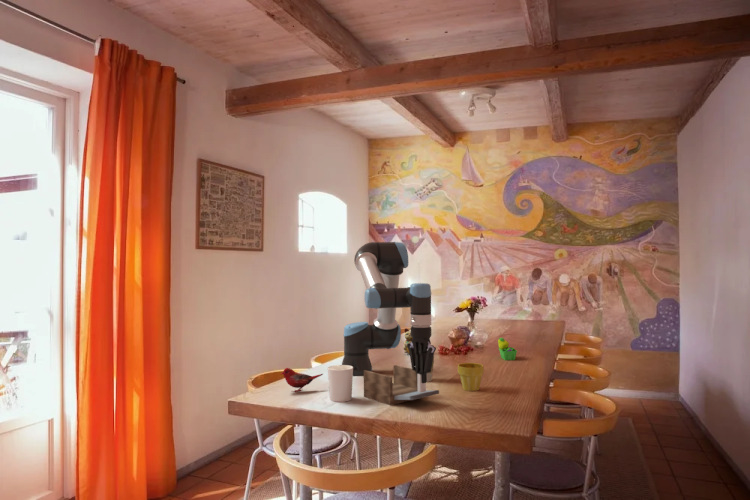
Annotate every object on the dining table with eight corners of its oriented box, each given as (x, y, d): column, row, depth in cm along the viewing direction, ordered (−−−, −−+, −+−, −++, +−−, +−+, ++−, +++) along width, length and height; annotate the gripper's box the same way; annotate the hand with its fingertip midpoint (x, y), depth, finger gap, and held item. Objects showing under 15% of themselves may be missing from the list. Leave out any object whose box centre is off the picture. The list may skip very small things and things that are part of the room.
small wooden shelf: (363, 396, 200) (363, 370, 200) (396, 389, 210) (395, 365, 210) (390, 405, 187) (389, 377, 187) (423, 397, 197) (422, 371, 197)
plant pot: (468, 393, 202) (468, 368, 203) (452, 388, 212) (452, 364, 212) (489, 390, 207) (488, 365, 207) (473, 385, 216) (472, 361, 217)
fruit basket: (517, 360, 269) (517, 339, 269) (500, 360, 269) (500, 339, 269) (512, 356, 280) (511, 335, 281) (496, 356, 281) (495, 336, 281)
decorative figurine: (402, 355, 287) (402, 328, 288) (404, 352, 295) (404, 326, 296) (420, 355, 286) (419, 328, 286) (421, 353, 294) (420, 326, 294)
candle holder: (327, 396, 201) (327, 365, 201) (353, 395, 202) (352, 364, 202) (327, 402, 191) (327, 370, 191) (354, 402, 192) (353, 369, 192)
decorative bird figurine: (280, 392, 207) (280, 367, 207) (322, 388, 214) (322, 364, 214) (281, 394, 204) (281, 369, 204) (324, 389, 211) (324, 365, 211)
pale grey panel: (393, 396, 188) (412, 396, 180) (420, 390, 196) (438, 390, 188) (394, 399, 188) (412, 399, 180) (420, 393, 196) (439, 393, 188)
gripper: (401, 325, 189) (401, 389, 189) (425, 328, 179) (426, 396, 179) (416, 323, 194) (417, 386, 193) (441, 326, 184) (442, 393, 183)
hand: (421, 391), depth 186 cm, fingers closed
